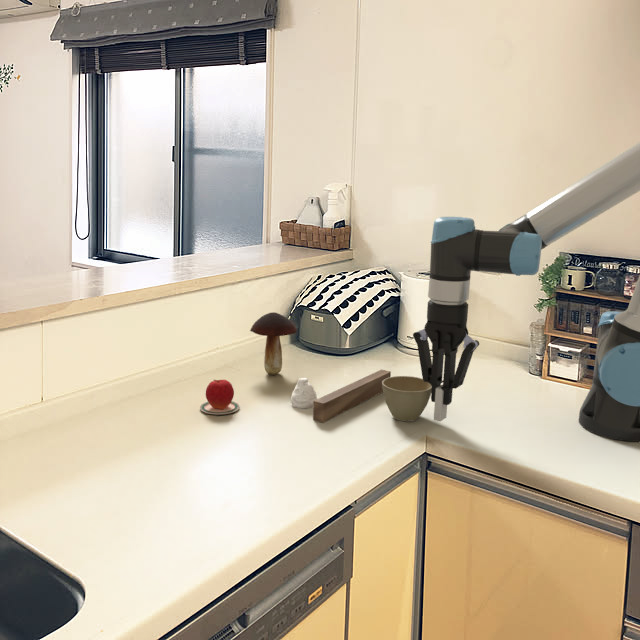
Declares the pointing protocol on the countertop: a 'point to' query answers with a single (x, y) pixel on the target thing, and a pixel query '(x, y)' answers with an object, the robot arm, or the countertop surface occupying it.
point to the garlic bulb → (303, 394)
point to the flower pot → (406, 396)
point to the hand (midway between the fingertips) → (440, 418)
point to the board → (349, 396)
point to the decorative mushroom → (273, 338)
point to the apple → (219, 398)
